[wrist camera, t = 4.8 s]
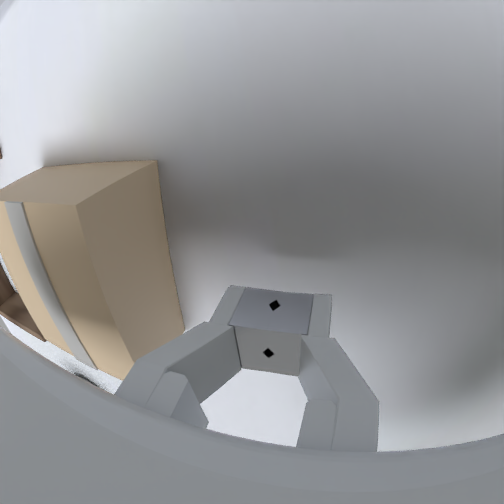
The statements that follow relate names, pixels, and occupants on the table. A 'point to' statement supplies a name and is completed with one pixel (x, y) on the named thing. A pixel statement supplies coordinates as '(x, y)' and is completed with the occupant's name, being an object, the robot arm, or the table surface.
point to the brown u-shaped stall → (16, 306)
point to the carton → (93, 260)
